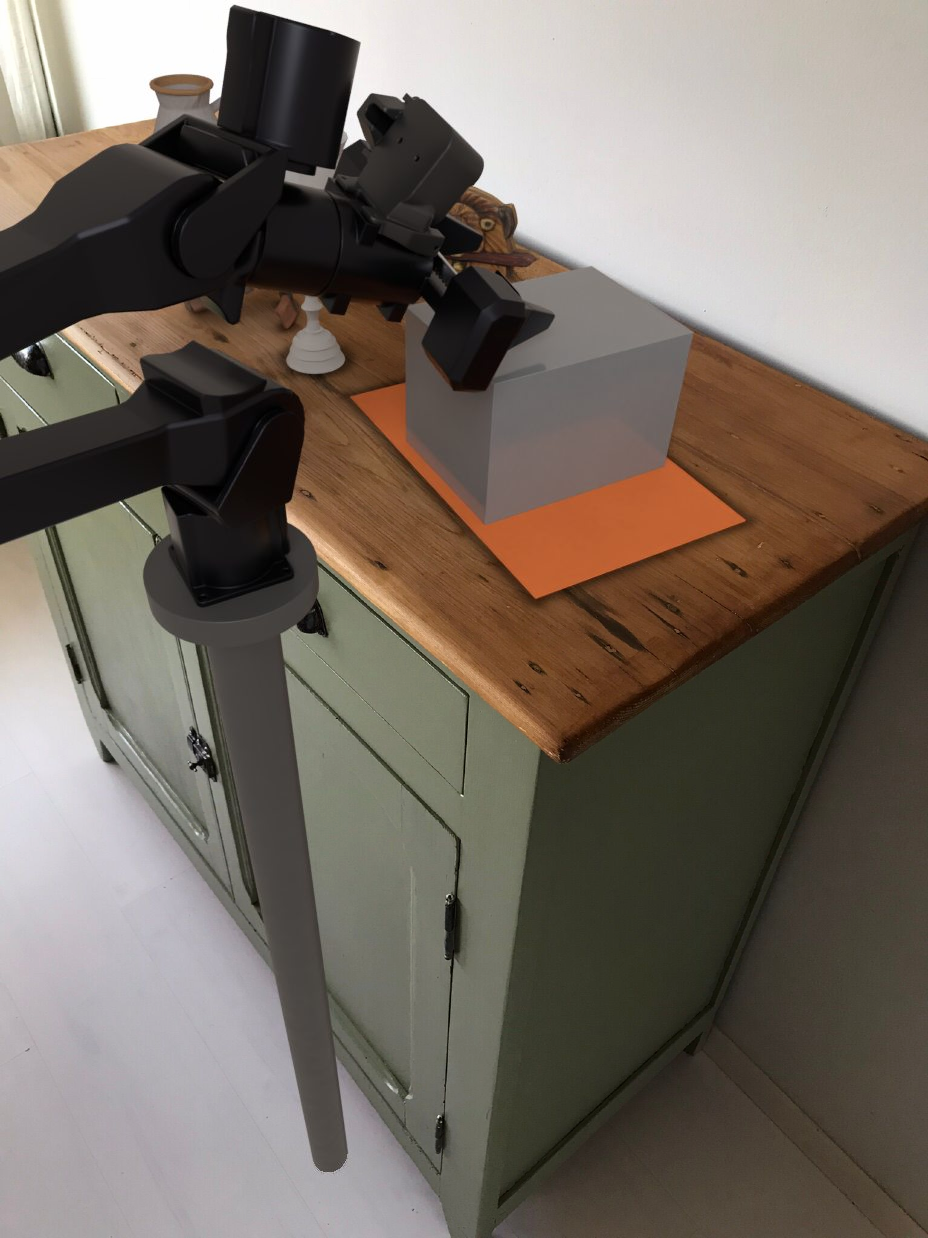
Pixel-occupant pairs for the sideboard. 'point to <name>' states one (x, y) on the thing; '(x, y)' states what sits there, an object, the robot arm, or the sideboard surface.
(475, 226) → the wooden carving
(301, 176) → the chalice
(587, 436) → the stone block
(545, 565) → the towel
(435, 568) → the sideboard surface
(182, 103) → the coffee pot
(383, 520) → the sideboard surface
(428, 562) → the sideboard surface
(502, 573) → the sideboard surface
